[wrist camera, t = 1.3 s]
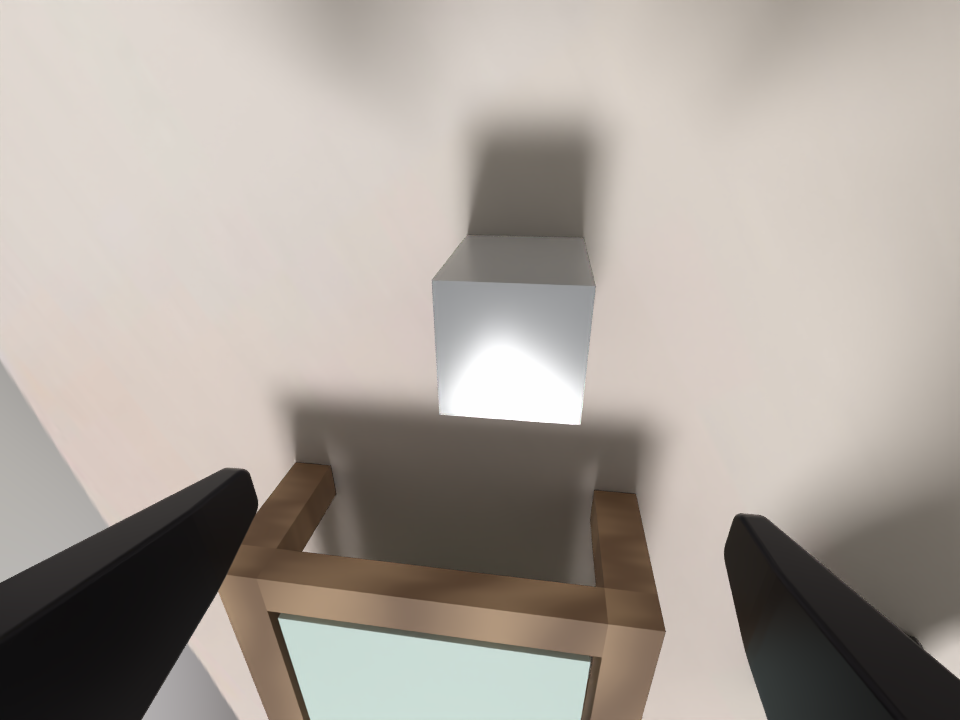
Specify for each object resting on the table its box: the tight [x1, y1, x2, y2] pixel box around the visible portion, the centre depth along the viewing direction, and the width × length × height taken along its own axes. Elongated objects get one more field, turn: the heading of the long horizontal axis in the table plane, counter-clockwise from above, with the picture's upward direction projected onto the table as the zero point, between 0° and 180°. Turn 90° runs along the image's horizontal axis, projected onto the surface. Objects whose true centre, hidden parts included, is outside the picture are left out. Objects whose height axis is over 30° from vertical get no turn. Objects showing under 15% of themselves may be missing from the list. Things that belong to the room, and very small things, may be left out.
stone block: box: [432, 235, 596, 425], centre depth 16 cm, size 4×4×6 cm
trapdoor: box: [278, 613, 590, 720], centre depth 22 cm, size 13×13×1 cm
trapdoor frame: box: [218, 462, 666, 720], centre depth 25 cm, size 18×18×7 cm
